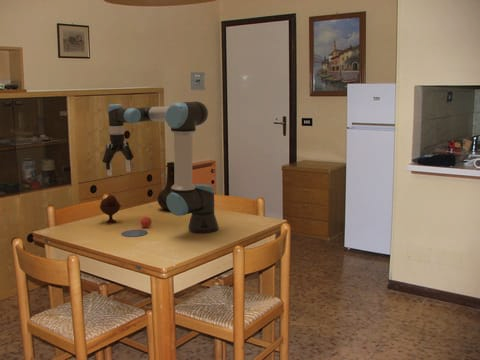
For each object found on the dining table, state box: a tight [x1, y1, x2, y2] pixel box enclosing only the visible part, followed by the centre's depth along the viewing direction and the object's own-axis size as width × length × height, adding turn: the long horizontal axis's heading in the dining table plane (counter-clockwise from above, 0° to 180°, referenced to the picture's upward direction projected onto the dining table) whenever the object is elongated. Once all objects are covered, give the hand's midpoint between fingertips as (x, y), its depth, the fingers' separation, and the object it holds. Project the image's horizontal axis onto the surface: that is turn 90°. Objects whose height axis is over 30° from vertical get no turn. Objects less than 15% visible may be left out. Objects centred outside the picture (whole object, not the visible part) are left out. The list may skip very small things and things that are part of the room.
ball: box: [140, 216, 152, 228], centre depth 295 cm, size 6×6×6 cm
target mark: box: [120, 229, 149, 238], centre depth 283 cm, size 13×13×1 cm
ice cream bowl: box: [99, 194, 122, 224], centre depth 306 cm, size 11×11×15 cm
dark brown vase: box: [157, 161, 174, 212], centre depth 333 cm, size 18×18×28 cm
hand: (119, 173), depth 303 cm, fingers open, 13 cm apart
